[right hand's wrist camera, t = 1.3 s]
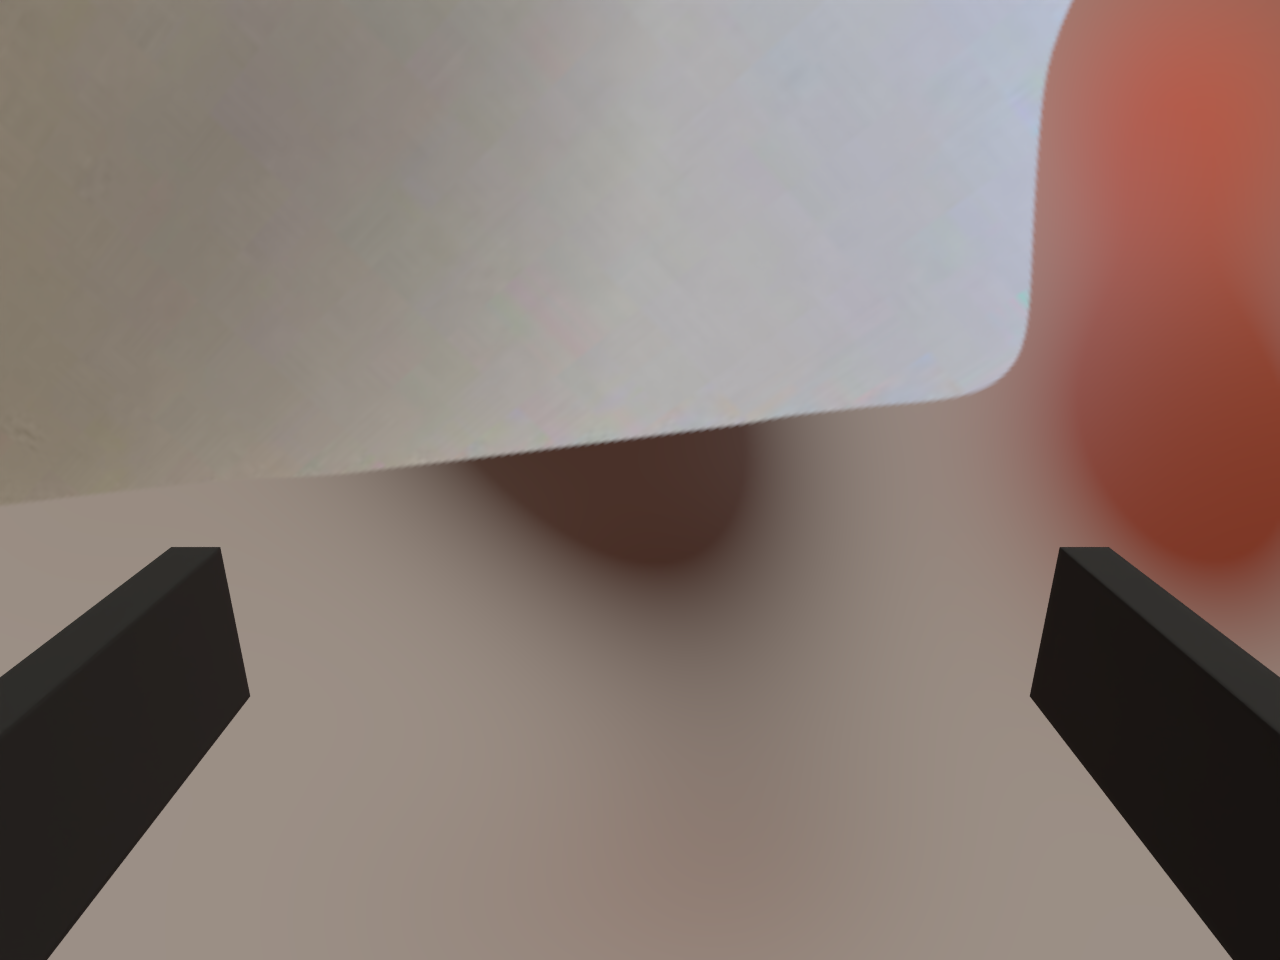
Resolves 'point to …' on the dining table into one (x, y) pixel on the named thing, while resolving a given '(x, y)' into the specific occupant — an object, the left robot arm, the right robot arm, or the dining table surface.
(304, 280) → the dining table surface
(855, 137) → the dining table surface
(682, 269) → the dining table surface
